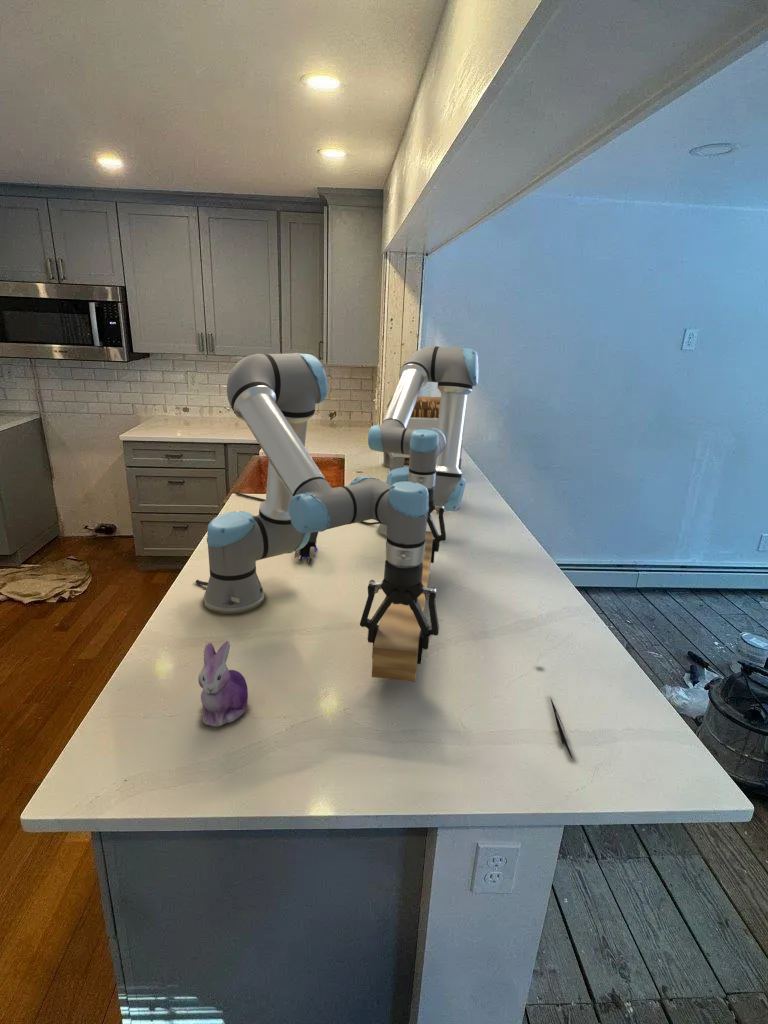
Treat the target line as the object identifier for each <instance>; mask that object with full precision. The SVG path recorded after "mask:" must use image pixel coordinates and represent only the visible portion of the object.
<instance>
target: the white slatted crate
mask: <svg viewBox="0 0 768 1024" xmlns="http://www.w3.org/2000/svg"><path fill="white" fill-rule="evenodd" d="M394 393H395V391H394V392H393V394H392V395H391V398H390V400H389V402H388V404H387V405H386V410H387V409H388V407H389V405H390V402H391V400H392V397H393V395H394ZM440 400H441V396H418V399H417V401H416V404H415V407H414V409H413V412H412V415H411V417H410V420H409V423H408V425H407V429H417V430H420V429H426V430H428V429H431V428H436V429H437V426H438V417H439V409H440ZM464 422H465V419H464ZM464 429H465V423H464V424H463V432H462V440H461V449H460V457H459V465H458V468H459V469H460V471H461V472H462V461H463V460H462V453H463V442H464V441H463V438H464V431H465V430H464ZM409 458H410V455H406V454H398V453H387V452H383V466H384V467H388V468H389V472H390V471H391V470H393V469H396V468H401V467H405V466H406V467H409Z"/></svg>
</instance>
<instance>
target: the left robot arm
mask: <svg viewBox="0 0 768 1024" xmlns="http://www.w3.org/2000/svg"><path fill="white" fill-rule="evenodd" d="M328 385H329V384H328V378H327V374H326V371H325V369H324V366H323V364H322V362H321V361H320V360H319V359H318V358H317V357H316V356H315V355H313V354H309V353H299V352H293V353H290V352H289V353H254V354H249V355H247V356H245V357H243V358H241V360H239V361H237V363H236V364H235V365H234V366H233V368H231V371H230V373H229V374H228V378H227V383H226V397H227V400H228V403H229V406H230V408H231V409H232V411H233V413H234V414H235V417H237V418H238V419H239V420H241V421H243V422H245V424H246V425H247V427H248V428H249V430H250V431H251V433H252V435H253V436H254V438H255V440H256V441H257V443H258V445H259V447H260V448H261V450H262V451H263V453H264V454H265V456H266V458H267V460H268V466H267V479H266V492H265V501H262V502H261V503H260V504H259V510H258V514H257V515H253V514H252V513H251V512H249V511H241V510H240V511H229V512H226V513H222V514H219V515H217V516H215V517H214V518H213V519H212V520H210V522H209V523H208V525H207V529H206V530H207V532H206V534H207V536H206V543H207V551H208V552H207V553H208V565H209V567H208V568H209V577H208V581H202V580H199V579H195V583H196V584H198V585H201V586H206V589H205V592H204V595H203V599H204V600H203V601H204V606H205V607H206V608H207V609H208V610H209V611H211V612H213V613H217V614H222V615H237V614H244V613H247V612H250V611H252V610H254V609H257V608H258V607H259V606H261V605H262V604H263V602H264V600H265V594H264V592H265V591H264V588H263V586H262V583H261V581H260V578H259V576H258V574H257V567H256V565H257V564H256V563H257V562H258V561H260V560H265V559H269V558H273V557H277V556H280V555H284V554H291V553H295V551H296V550H299V549H302V548H303V547H304V546H305V545H306V544H307V543H308V541H309V538H310V533H313V532H318V533H321V532H324V531H327V530H331V529H334V528H339V527H343V526H347V525H352V524H357V523H361V521H364V522H367V521H370V520H374V521H375V522H380V523H382V524H384V525H387V537H385V538H386V540H385V541H386V542H385V555H384V557H385V561H384V571H383V573H384V574H383V579H382V581H375V579H370V580H369V581H368V585H367V598H366V602H365V605H364V608H363V612H362V615H361V618H360V621H359V626H360V627H362V628H364V627H365V628H367V641H368V643H370V644H371V643H372V647H373V646H374V642H375V638H376V634H377V631H378V627H379V623H380V620H381V618H382V616H383V615H384V613H385V612H386V610H387V609H388V608H389V606H390V605H391V603H392V602H393V604H403V605H408V604H409V606H410V608H411V610H412V611H413V613H414V615H415V617H416V620H417V622H418V624H419V626H420V629H421V631H420V639H419V650H418V661H417V665H422V660H423V650H428V648H429V642H430V637H431V636H436V637H437V636H438V635H439V631H440V624H439V618H438V617H439V616H438V610H437V605H436V596H437V587H436V586H431V587H428V588H427V587H424V586H423V584H422V572H423V563H422V562H423V560H424V550H425V536H426V531H427V526H428V523H427V516H428V511H429V506H428V500H429V493H428V490H427V488H426V487H425V486H424V485H422V484H419V483H413V482H408V481H403V482H397V483H394V484H393V485H391V486H390V485H388V484H386V482H384V481H382V480H380V479H379V478H375V477H371V476H368V475H359V476H357V477H356V478H355V479H354V480H351V482H350V483H349V484H348V485H343V486H337V487H332V486H331V484H330V483H329V482H328V479H326V477H325V476H324V474H323V473H322V471H321V470H320V468H319V467H318V465H317V464H316V462H315V461H314V459H313V457H312V456H311V454H310V453H309V452H308V450H307V448H306V438H307V428H308V420H310V419H311V418H313V417H314V416H315V413H316V405H317V404H321V403H323V402H324V400H325V399H326V398H327V395H328V388H329V387H328ZM379 590H382V592H383V593H384V595H385V597H384V599H383V601H382V602H381V604H380V605H379V606H378V608H377V610H376V611H375V613H374V614H373V616H372V617H371V618H368V617H369V614H370V612H371V608H372V605H373V602H374V599H375V595H376V594H378V593H379ZM422 593H423V594H425V598H426V601H427V607H428V614H429V619H430V625H429V623H428V620H427V618H426V616H425V612H424V613H423V611H422V609H421V607H420V604H419V601H418V597H419V596H420V595H421V594H422ZM371 658H372V659H373V649H372V654H371Z"/></svg>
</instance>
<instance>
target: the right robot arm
mask: <svg viewBox="0 0 768 1024" xmlns="http://www.w3.org/2000/svg"><path fill="white" fill-rule="evenodd" d="M479 372H480V371H479V357H478V352H477V351H476V350H475V349H473V348H467V347H464V346H462V347H456V346H437V345H430V346H424V347H422V348H420V349H418V350H416V351H415V352H413V353H412V354H411V355H410V356H409V357H408V358H407V359H406V360H404V362H403V364H402V366H401V367H400V370H399V373H398V374H399V375H398V376H399V381H398V383H397V386H396V388H395V390H394V392H395V393H394V392H393V394H394V395H393V394H392V396H393V397H392V396H391V398H392V400H391V399H390V400H391V402H390V405H389V407H388V409H387V408H386V412H385V414H384V417H383V418H382V422H381V424H377V425H372V426H371V427H370V428H369V431H368V435H367V444H368V448H369V450H371V451H373V452H374V451H375V452H379V453H384V452H387V453H398V454H406V455H410V458H409V466H404V467H401V468H396V469H393V470H391V471H390V470H389V472H388V473H387V475H386V482H385V483H386V484H388V485H390V486H391V485H393V484H394V483H397V482H403V481H408V482H413V483H419V484H422V485H424V486H425V487H426V488H427V490H428V493H429V500H428V506H429V511H428V516H427V526H428V527H429V529H430V530H429V531H431V532H432V534H433V537H434V539H433V544H432V557H431V564H434V563H435V553H438V552H440V543H441V542H442V541H443V542H444V541H446V540H447V531H446V523H445V518H444V512H453V513H454V512H456V511H457V510H458V509H459V508H460V506H461V502H462V500H463V496H464V493H465V489H466V483H467V482H466V481H467V480H466V479H465V478H464V477H463V472H462V470H461V471H460V469H459V468H458V465H459V457H460V449H461V440H462V441H463V438H462V432H463V424H464V425H465V421H464V420H465V416H466V415H465V414H466V406H467V399H468V396H469V394H471V393H472V392H473V387H476V386H478V385H479V376H480V374H479ZM428 383H437V390H438V391H439V392H440V397H441V400H440V409H439V417H438V426H437V429H436V428H431V429H428V430H426V429H420V430H417V429H407V425H408V423H409V420H410V417H411V415H412V412H413V409H414V407H415V404H416V401H417V399H418V397H420V394H421V391H422V388H424V387H425V386H426V385H427V384H428ZM463 433H464V432H463ZM235 495H238V496H241V497H246V498H249V499H254V500H257V501H262V502H263V501H265V500H266V498H260V497H256V496H252V495H248V494H244V493H241V492H235ZM434 511H435V512H436V514H437V515H438V524H439V529H440V534H439V532H438V529H437V527H436V525H435V522H434V520H433V517H432V515H431V514H432V513H433V512H434ZM360 523H361V524H364V525H367V526H368V525H369V526H373V525H379V526H378V533H379V534H380V535H381V536H382V537H385V538H386V537H387V525H384V524H382V523H380V522H378V521H374V522H368V521H361V522H360Z"/></svg>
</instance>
